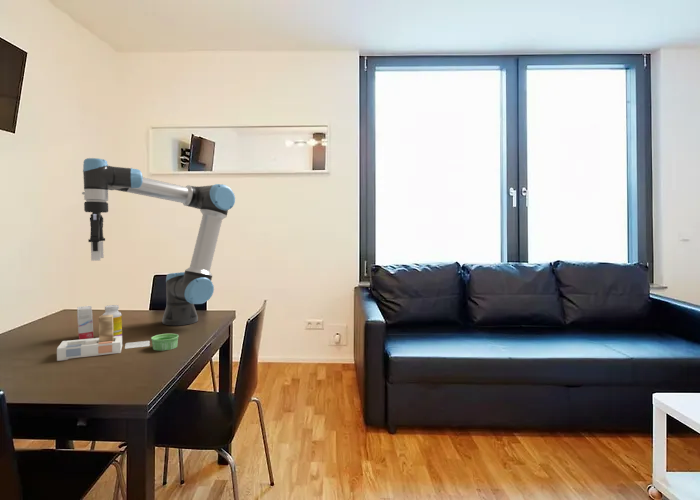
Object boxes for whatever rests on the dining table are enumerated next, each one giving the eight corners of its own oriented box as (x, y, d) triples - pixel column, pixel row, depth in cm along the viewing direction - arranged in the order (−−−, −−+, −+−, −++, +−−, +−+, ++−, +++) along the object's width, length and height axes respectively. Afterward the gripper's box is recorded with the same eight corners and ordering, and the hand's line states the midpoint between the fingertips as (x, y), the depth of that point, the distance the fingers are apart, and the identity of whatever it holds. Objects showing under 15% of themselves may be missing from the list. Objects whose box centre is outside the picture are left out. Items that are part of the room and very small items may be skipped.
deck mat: (149, 341, 157) (149, 340, 157) (149, 347, 150) (149, 345, 150) (125, 344, 153) (125, 343, 153) (124, 349, 146) (124, 348, 146)
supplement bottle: (126, 337, 163) (125, 305, 162) (111, 341, 157) (110, 308, 156) (113, 335, 165) (112, 304, 165) (98, 339, 159) (97, 306, 158)
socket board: (122, 346, 150) (122, 334, 150) (120, 354, 141) (120, 341, 141) (62, 352, 142) (62, 340, 142) (57, 361, 133) (56, 347, 133)
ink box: (93, 338, 160) (92, 308, 160) (77, 340, 158) (77, 310, 157) (92, 334, 168) (92, 305, 167) (77, 335, 165) (77, 306, 164)
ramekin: (151, 346, 151) (151, 334, 151) (178, 344, 154) (178, 332, 154) (150, 353, 142) (150, 340, 142) (178, 350, 146) (178, 338, 146)
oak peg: (113, 348, 146) (113, 314, 146) (112, 351, 143) (112, 316, 142) (100, 349, 145) (99, 315, 144) (99, 352, 141) (98, 317, 141)
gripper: (88, 203, 161) (89, 257, 162) (79, 199, 138) (81, 262, 139) (110, 203, 164) (111, 256, 165) (105, 199, 142) (106, 261, 143)
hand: (97, 259), depth 152 cm, fingers open, 13 cm apart
